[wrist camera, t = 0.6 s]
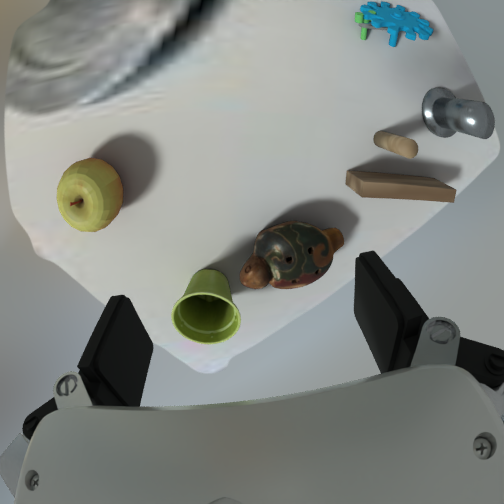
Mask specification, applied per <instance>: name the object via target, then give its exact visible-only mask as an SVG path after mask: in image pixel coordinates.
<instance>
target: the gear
mask: <svg viewBox="0 0 504 504" xmlns="http://www.w3.org/2000/svg"><path fill="white" fill-rule="evenodd" d="M380 6H381V7H382V8H381V7H378V6H377V3H375V2H368V3H367V5H362V6H361V8H360V11H361V12H363V13H360V12H356V13H355V22H357V23H359V26H361V27H362V30H361V39H362V40H366V35H367V28H369V29H380V30H387V32H388V33H390V34H391V35H390V40H389V45H390V46H392V47H395V46H396V42H397V37H398V32H400V31H405V32H406V35H405V37H406V38H408V39H411V40H415V39H416V33H418V34H419V38H421V39H422V40H428V39H429V36H431V35H432V33H433V29H432V28H430V27H429V22H428V21H427V20H424V19H419V17H420V15H419V14H418V13H416V12H413V11H412V12H405V8H404V7H402V6H400V5H397V6H396V8H389V7H390V4H389V3H387V2H382V1H381V5H380ZM415 32H416V33H415Z"/></svg>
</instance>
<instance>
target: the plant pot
mask: <svg viewBox="0 0 504 504" xmlns="http://www.w3.org/2000/svg"><path fill="white" fill-rule="evenodd" d="M201 294H202V295H203V296H201ZM171 318H172V323H173V325H174V327H175V329H176V330H177V331H178V332H179V333H180V334H181V335H182V336H183V337H185V338H187V339H189V340H191V341H194V342H197V343H201V344H216V343H221V342H224V341H226V340H228V339H229V338H231V337H232V336H234V335H235V333H236V332H237V331H238V329H239V327H240V323H241V317H240V313H239V310H238V308H237V307H236V305H235V304H234V303H233V301H232V297H231V292H230V287H229V283H228V280H227V278H226V277H225V276H224V275H223V274H222V273H221V272H219V271H217V270H206V269H204V270H200V271H198V272H197V273H195V274H194V275H193V277H192V279H191V281H190V283H189V285H188V287H187V289H186V291H185V293H184V295H183V296H182V297H181V298H180V299H179V300H178V301H177V302H176V303H175V305H174V307H173V309H172V314H171Z"/></svg>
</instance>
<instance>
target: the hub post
mask: <svg viewBox="0 0 504 504" xmlns="http://www.w3.org/2000/svg"><path fill="white" fill-rule="evenodd" d="M422 115H423V119H424V122H425V124H426V126H427V127H428V129H429V130H430V131H431V132H432V133H433V134H435V135H437V136H440V137H450V136H452V135H454V134H455V133H456V131H457V132H461V133H465V134H468V135H472V136H475V137H479V138H482V139H487V138H489V137H490V136H491V135H492V133H493V130H494V125H495V121H494V115H493V112H492V110H491V108H490V107H489V105H487V104H486V103H484V102H479V101H472V100H464V99H456V97H455V96H454V95H453V94H452V93H451V92H450V91H448V90H447V89H444V88H433V89H431V90H429V91H428V92H427V93H426V95H425V97H424V99H423V103H422Z"/></svg>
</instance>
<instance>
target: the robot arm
mask: <svg viewBox="0 0 504 504" xmlns="http://www.w3.org/2000/svg"><path fill="white" fill-rule="evenodd" d="M354 314H355V317H356V320H357V322H358V324H359V326H360V328H361V330H362V332H363V334H364V337H365V339H366V341H367V343H368V345H369V348H370V350H371V352H372V354H373V356H374V359H375V361H376V363H377V365H378V368H379V370H380V372H381V374H379V375H375V376H371V377H367V378H363V379H359V380H355V381H352V382H347V383H343V384H338V385H334V386H330V387H325V388H320V389H316V390H311V391H305V392H300V393H295V394H289V395H283V396H277V397H270V398H263V399H256V400H248V401H240V402H230V403H220V404H208V405H193V406H192V405H191V406H165V407H140V403H141V398H142V393H143V389H144V385H145V381H146V377H147V372H148V368H149V364H150V360H151V356H152V353H153V343H152V340H151V339H150V337H149V335H148V333H147V331H146V329H145V328H144V326H143V324H142V322H141V320H140V318H139V316H138V314H137V312H136V310H135V308H134V306H133V304H132V302H131V300H130V299H129V298H126V296H125V295H117V296H112V297H111V298H110V299H109V301H108V303H107V305H106V307H105V309H104V311H103V313H102V315H101V317H100V319H99V321H98V323H97V325H96V327H95V329H94V331H93V333H92V335H91V337H90V339H89V342H88V344H87V346H86V348H85V350H84V352H83V355H82V357H81V359H80V361H79V364H78V366H77V367H78V368H79V369H80V371H79V373H76V372H72V371H71V372H67V373H65V374H63V375H62V376H60V377H59V378H58V379H57V381H56V382H55V384H54V388H53V394H54V397H53V398H52V399H51V400H49V401H48V402H46V403H45V404H43V405H42V406H41V407H39V408H38V409H36V410H35V411H34V412H32V413H31V414H29V415H28V416H27V417H26V419H25V421H24V424H23V428H22V429H23V435H22V434H21V433H19V434H18V436H17V437H16V438H15V439H14V440H13V442H12V443H11V444H10V445H9V446H8V448H7V449H6V450H5V451H4V453H3V454H2V455H1V456H0V475H1V476H2V478H3V480H4V481H5V483H6V485H7V487H8V488H9V490H10V491H11V493H12V494H13V496H14V497H15V501H14V504H504V350H501V349H499V348H496V347H493V346H489V345H486V344H483V343H479V342H476V341H472V340H469V339H466V338H463V337H460V330H459V328H458V326H457V325H456V324H455V322H453V321H452V320H450V319H447V318H445V317H433V318H431V319H429V318H428V316H427V315H426V314H425V312H424V311H423V309H422V308H421V307H420V305H419V304H418V303H417V301H416V300H415V298H414V297H413V296H412V295H411V293H410V292H409V290H408V289H407V288H406V286H405V285H404V284H403V282H402V281H401V280H400V279H398V278H395V276H394V275H393V274H392V273H391V271H390V270H389V269H388V267H387V266H386V265H385V264H384V262H383V261H382V260H381V259H380V257H379V256H378V255H377V254H376V252H375V251H369V252H364V253H360V255H359V257H357V258H356V261H355V296H354Z"/></svg>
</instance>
